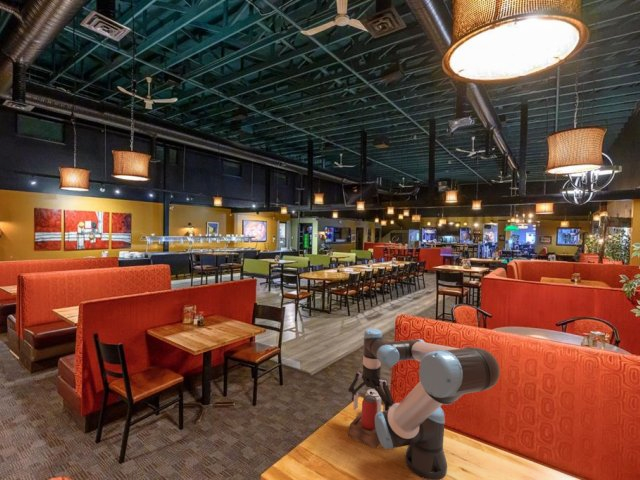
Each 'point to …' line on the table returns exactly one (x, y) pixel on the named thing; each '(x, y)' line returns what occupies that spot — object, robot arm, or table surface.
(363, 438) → the walnut tray
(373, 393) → the can
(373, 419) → the beer can
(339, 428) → the table surface
